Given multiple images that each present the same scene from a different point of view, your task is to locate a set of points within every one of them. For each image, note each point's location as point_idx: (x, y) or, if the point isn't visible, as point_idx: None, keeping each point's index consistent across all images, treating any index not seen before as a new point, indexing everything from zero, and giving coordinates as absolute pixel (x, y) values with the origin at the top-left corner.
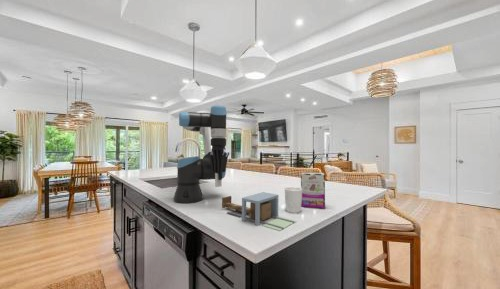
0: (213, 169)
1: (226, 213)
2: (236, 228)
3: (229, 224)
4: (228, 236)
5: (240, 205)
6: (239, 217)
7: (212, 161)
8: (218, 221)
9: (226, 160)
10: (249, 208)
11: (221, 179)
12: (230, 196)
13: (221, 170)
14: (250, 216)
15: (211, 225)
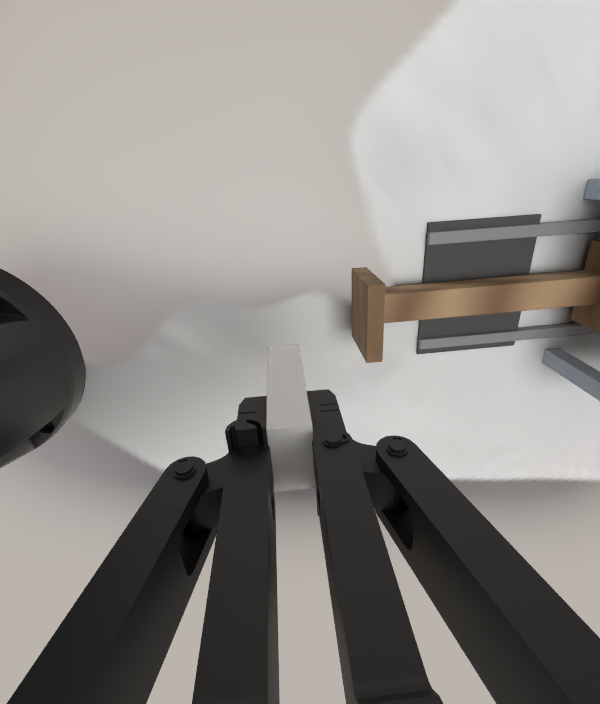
0: (214, 530)
1: (418, 353)
2: (564, 425)
3: (518, 421)
4: (574, 475)
5: (480, 287)
6: (510, 344)
7: (141, 690)
8: (458, 432)
9: (581, 643)
10: (562, 291)
11: (330, 397)
12: (384, 293)
13: (409, 513)
14: (574, 320)
15: (464, 468)
